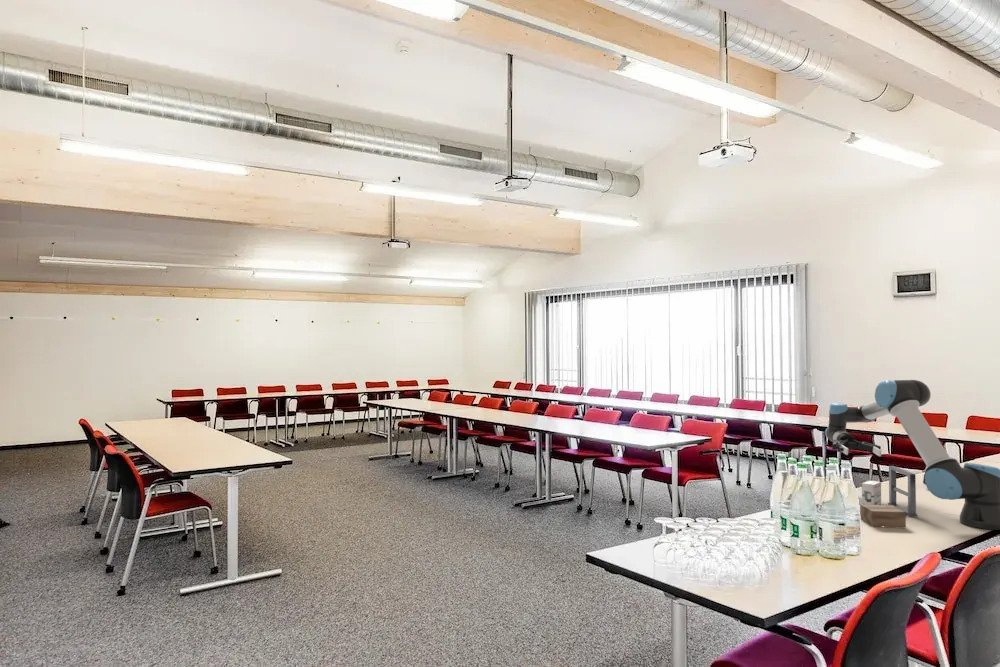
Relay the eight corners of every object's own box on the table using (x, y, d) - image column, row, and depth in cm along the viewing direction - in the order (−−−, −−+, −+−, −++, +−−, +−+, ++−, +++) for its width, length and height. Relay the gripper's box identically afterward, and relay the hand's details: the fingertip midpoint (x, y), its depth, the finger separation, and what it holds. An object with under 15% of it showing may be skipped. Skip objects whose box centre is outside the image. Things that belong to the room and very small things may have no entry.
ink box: (869, 507, 273) (868, 479, 273) (881, 509, 269) (881, 481, 269) (861, 510, 267) (861, 482, 267) (874, 513, 263) (874, 484, 264)
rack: (917, 516, 258) (916, 474, 258) (909, 516, 258) (908, 474, 258) (895, 505, 275) (894, 465, 276) (888, 505, 276) (887, 465, 276)
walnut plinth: (905, 527, 242) (905, 512, 242) (872, 526, 244) (872, 511, 244) (892, 520, 252) (892, 505, 252) (860, 519, 254) (860, 504, 254)
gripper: (872, 449, 298) (893, 462, 277) (816, 446, 302) (833, 459, 281) (873, 433, 298) (894, 445, 277) (817, 431, 301) (834, 442, 280)
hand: (863, 452), depth 279 cm, fingers open, 13 cm apart
